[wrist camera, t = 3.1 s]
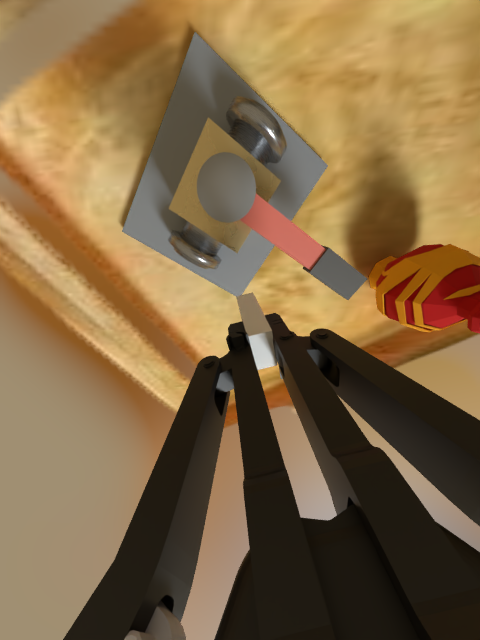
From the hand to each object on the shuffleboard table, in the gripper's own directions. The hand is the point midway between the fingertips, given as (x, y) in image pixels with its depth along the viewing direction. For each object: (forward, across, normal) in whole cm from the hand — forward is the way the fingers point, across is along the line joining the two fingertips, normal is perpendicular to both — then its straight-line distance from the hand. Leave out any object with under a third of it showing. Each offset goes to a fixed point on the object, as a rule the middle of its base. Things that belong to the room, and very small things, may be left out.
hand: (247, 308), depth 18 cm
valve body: (+11, 0, +9) cm, 14 cm away
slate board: (+11, 0, +9) cm, 14 cm away
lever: (+2, +5, +5) cm, 7 cm away
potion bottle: (+11, +22, -5) cm, 25 cm away
